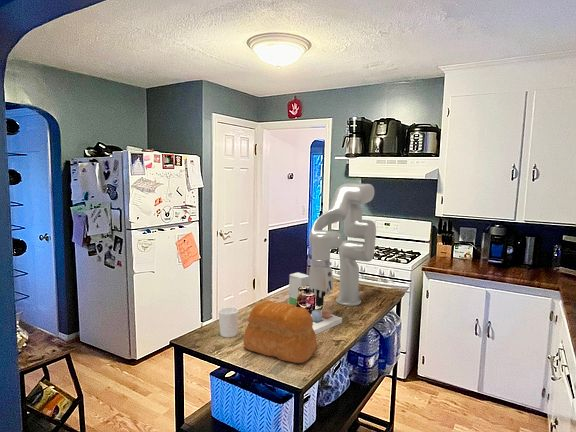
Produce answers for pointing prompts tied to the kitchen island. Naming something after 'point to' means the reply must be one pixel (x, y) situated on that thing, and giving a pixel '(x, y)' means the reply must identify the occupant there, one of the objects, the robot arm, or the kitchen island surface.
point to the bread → (281, 332)
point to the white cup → (228, 321)
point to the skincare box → (296, 285)
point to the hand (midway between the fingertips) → (319, 305)
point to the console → (326, 323)
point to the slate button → (316, 316)
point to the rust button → (326, 314)
